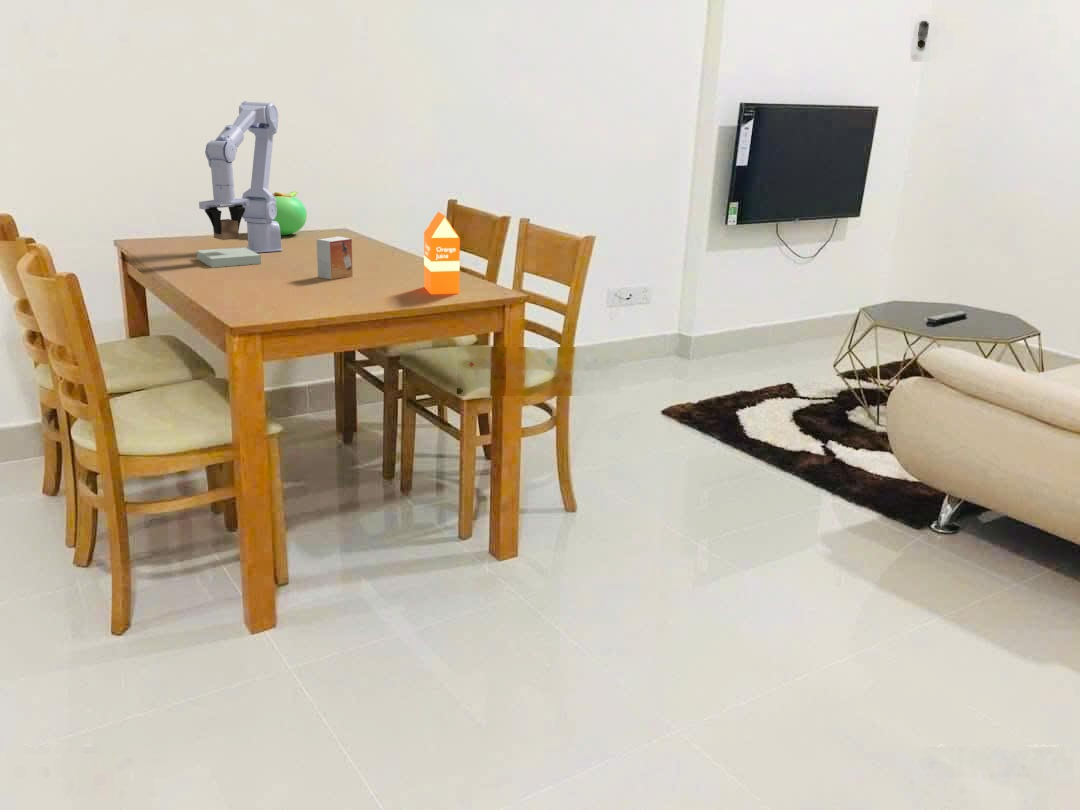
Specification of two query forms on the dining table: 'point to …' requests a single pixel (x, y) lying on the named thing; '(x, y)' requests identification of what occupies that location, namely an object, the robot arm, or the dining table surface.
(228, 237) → the walnut cube
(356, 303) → the dining table surface
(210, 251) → the base
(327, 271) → the small box
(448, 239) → the orange juice
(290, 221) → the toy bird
